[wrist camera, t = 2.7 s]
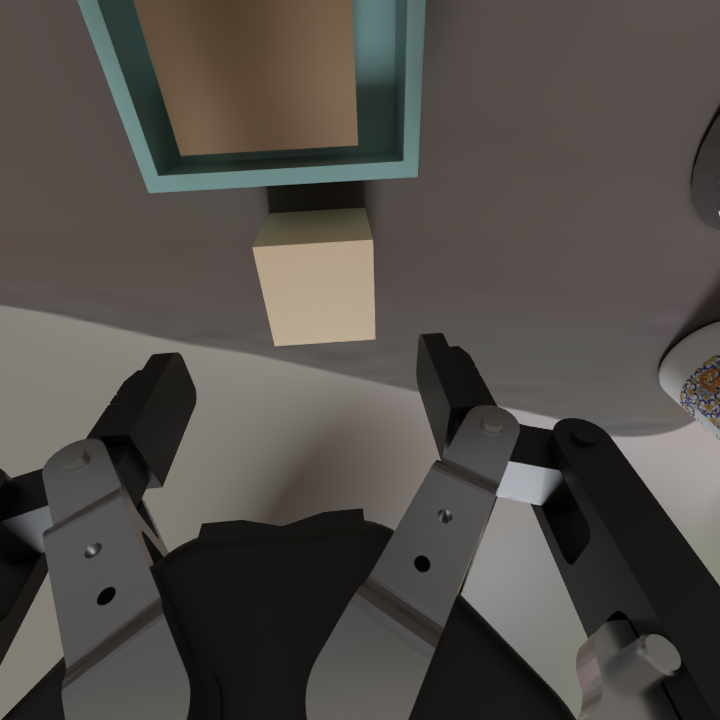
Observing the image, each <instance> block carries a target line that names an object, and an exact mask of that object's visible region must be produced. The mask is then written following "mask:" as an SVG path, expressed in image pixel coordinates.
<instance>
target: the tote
mask: <svg viewBox="0 0 720 720" xmlns="http://www.w3.org/2000/svg"><path fill="white" fill-rule="evenodd" d="M78 3H79V6H80V9H81V11H82V14H83V17H84V19H85V22H86V25H87V27H88V30H89V33H90V36H91V38H92V41H93V44H94V46H95V49H96V52H97V54H98V57H99V60H100V63H101V65H102V68H103V71H104V73H105V76H106V79H107V81H108V84H109V87H110V90H111V92H112V95H113V98H114V100H115V103H116V106H117V108H118V111H119V114H120V117H121V119H122V122H123V125H124V127H125V130H126V133H127V135H128V138H129V141H130V143H131V146H132V149H133V152H134V154H135V157H136V160H137V162H138V165H139V168H140V170H141V173H142V176H143V179H144V181H145V184H146V187H147V189H148V192H149V193H160V192H176V191H192V190H209V189H225V188H242V187H258V186H275V185H291V184H307V183H324V182H340V181H357V180H373V179H390V178H406V177H418V155H419V134H420V113H421V92H422V71H423V50H424V29H425V8H426V0H352V8H353V32H354V57H355V81H356V106H357V130H358V145H356V146H339V147H322V148H305V149H288V150H271V151H254V152H237V153H220V154H203V155H186V156H181V155H180V152H179V148H178V145H177V142H176V138H175V135H174V132H173V128H172V125H171V122H170V119H169V115H168V112H167V109H166V105H165V102H164V99H163V95H162V92H161V89H160V86H159V82H158V79H157V76H156V72H155V69H154V66H153V63H152V59H151V56H150V53H149V49H148V46H147V43H146V39H145V36H144V33H143V30H142V26H141V23H140V20H139V16H138V13H137V10H136V6H135V3H134V0H78Z"/></svg>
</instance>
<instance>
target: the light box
mask: <svg viewBox="0 0 720 720" xmlns="http://www.w3.org/2000/svg"><path fill="white" fill-rule="evenodd" d="M252 248H253V252H254V257H255V261H256V265H257V270H258V274H259V279H260V283H261V287H262V292H263V296H264V300H265V305H266V309H267V314H268V318H269V322H270V327H271V331H272V336H273V340H274V344H275V346H284V345H299V344H313V343H328V342H342V341H357V340H371V339H375V306H374V260H373V237H372V233H371V230H370V226H369V222H368V218H367V214H366V210H365V208H349V209H332V210H316V211H300V212H284V213H269V215H268V217H267V219H266V221H265V223H264V225H263V227H262V229H261V231H260V233H259V235H258V237H257V239H256V241H255V243H254V245H253V247H252Z"/></svg>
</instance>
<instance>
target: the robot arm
mask: <svg viewBox="0 0 720 720" xmlns="http://www.w3.org/2000/svg"><path fill="white" fill-rule="evenodd" d="M691 189H692V200H693V204H694V207H695V209H696V211H697V214H698V216H699V217H700V218H701V219H702V220H703V221H704V222H705V223H706V224H708V225H710V226H712V227H714V228H716V229H719V230H720V115H719V116H718V117H717V119H716V120H715V122H714V123H713V125H712V127H711V129H710V131H709V133H708V135H707V137H706V139H705V141H704V142H703V144H702V146H701V149H700V152H699V155H698V158H697V161H696V164H695V167H694V172H693V179H692V185H691ZM416 376H417V384H418V388H419V391H420V395H421V398H422V401H423V404H424V407H425V411H426V414H427V417H428V420H429V423H430V426H431V430H432V433H433V436H434V439H435V443H436V446H437V449H438V452H439V455H440V459H441V461H439V460H436V461H435V462H434V464H433V465H432V467H431V469H430V471H429V472H428V474H427V476H426V477H425V479H424V481H423V483H422V484H421V486H420V488H419V490H418V491H417V493H416V495H415V497H414V498H413V500H412V502H411V504H410V505H409V507H408V509H407V511H406V512H405V514H404V516H403V518H402V520H401V521H400V523H399V525H398V526H397V528H396V530H395V531H394V530H392V529H390V528H388V527H386V526H384V525H382V524H378V523H375V522H371V521H366V520H364V516H363V509H351V510H341V511H331V512H323V513H320V514H317V515H314V516H311V517H308V518H305V519H303V520H300V521H297V522H294V523H291V524H288V525H285V526H276V525H270V524H264V523H258V522H251V521H245V520H236V521H226V522H215V523H205V524H202V526H201V529H200V533H199V537H198V538H196V539H193V540H191V541H189V542H187V543H184V544H183V545H181V546H179V547H177V548H176V549H174V550H173V551H171V552H170V553H169V552H168V550H167V548H166V546H165V544H164V542H163V540H162V537H161V535H160V533H159V531H158V529H157V527H156V524H155V522H154V520H153V518H152V515H151V514H150V511H149V509H148V507H147V505H146V502H145V501H144V499H143V498H142V497H143V494H144V492H145V490H146V489H149V488H158V487H159V488H160V487H163V484H164V482H165V480H166V477H167V475H168V472H169V470H170V467H171V465H172V462H173V460H174V457H175V454H176V452H177V450H178V447H179V445H180V442H181V440H182V437H183V435H184V432H185V429H186V427H187V425H188V422H189V420H190V417H191V414H192V412H193V410H194V407H195V404H196V389H195V386H194V384H193V381H192V379H191V377H190V374H189V372H188V369H187V367H186V365H185V363H184V360H183V358H182V356H181V354H179V353H163V354H153V355H152V356H151V357H150V359H149V360H148V362H147V363H146V365H145V366H144V368H143V370H138V371H137V372H135V373H134V374H133V375H132V376H130V377H129V378H128V379H127V380H126V381H124V383H123V384H122V386H121V387H120V389H119V390H118V392H117V395H115V396H114V398H113V399H112V401H111V402H110V405H108V407H107V408H106V409H105V411H104V412H103V414H102V416H101V417H100V418H99V420H98V422H97V423H96V424H95V426H94V427H93V429H92V430H91V432H90V433H89V435H88V436H87V438H86V439H84V440H80V441H76V442H74V443H71V444H69V445H67V446H66V447H64V448H62V449H61V450H59V451H58V452H56V453H55V454H54V455H53V456H52V457H51V458H50V459H49V460H48V461H47V463H46V464H45V466H44V468H43V469H40V470H36V471H33V472H30V473H27V474H24V475H21V476H17V477H14V478H10V477H9V476H8V475H7V474H6V473H5V472H4V471H3V470H2V469H0V665H1V663H2V661H3V659H4V657H5V655H6V653H7V651H8V649H9V647H10V645H11V643H12V641H13V639H14V637H15V635H16V634H17V632H18V630H19V628H20V626H21V624H22V622H23V620H24V618H25V616H26V614H27V612H28V610H29V608H30V606H31V604H32V602H33V600H34V598H35V596H36V594H37V592H38V590H39V588H40V586H41V585H42V583H43V581H44V579H45V577H46V575H47V573H48V571H49V576H50V581H51V587H52V592H53V597H54V603H55V608H56V614H57V619H58V625H59V631H60V636H61V641H62V647H63V652H64V657H63V658H62V659H61V660H60V661H59V662H58V663H57V664H56V665H55V666H54V667H53V668H52V669H51V670H50V671H49V672H48V673H47V674H46V675H45V676H44V677H43V678H42V679H41V680H40V681H39V682H38V683H37V684H36V685H35V686H34V687H33V689H31V690H30V691H29V692H28V693H27V694H26V696H24V697H23V698H22V699H21V700H20V701H19V702H18V703H17V704H16V705H15V706H14V707H13V708H12V709H11V711H9V712H8V714H6V716H5V717H4V718H3V719H2V720H576V719H575V717H574V715H573V714H572V712H571V711H570V710H569V708H568V707H567V706H566V704H565V703H564V702H563V700H562V699H561V698H560V697H559V696H558V694H557V693H556V692H555V691H554V690H553V689H552V688H551V687H550V686H549V685H548V684H547V683H546V682H545V681H544V680H543V679H542V678H541V677H540V676H539V674H537V673H536V671H535V670H534V669H533V668H532V667H531V666H530V665H529V664H528V663H527V662H526V661H525V660H524V659H523V658H522V657H521V656H520V655H519V654H518V653H517V652H516V651H515V650H514V649H513V648H512V647H511V646H510V645H509V644H508V643H507V642H506V641H505V640H504V639H503V638H502V637H501V636H500V634H499V633H498V632H497V631H496V630H495V629H494V628H493V627H492V626H491V625H490V624H489V623H488V622H487V621H486V620H485V619H484V618H483V617H482V616H481V615H480V614H479V613H478V612H477V611H476V610H475V609H474V608H473V607H472V606H471V605H470V604H469V603H468V602H467V601H466V600H465V599H464V598H463V597H462V596H461V594H462V592H463V589H464V586H465V584H466V581H467V578H468V575H469V573H470V570H471V568H472V565H473V562H474V559H475V556H476V553H477V551H478V548H479V545H480V542H481V540H482V537H483V534H484V532H485V529H486V526H487V524H488V521H489V518H490V516H491V513H492V510H493V508H494V505H495V502H496V500H497V497H503V498H508V499H513V500H517V501H522V502H527V503H531V506H532V508H533V510H534V513H535V515H536V517H537V520H538V522H539V524H540V527H541V529H542V531H543V534H544V536H545V538H546V541H547V543H548V545H549V548H550V550H551V553H552V555H553V557H554V559H555V562H556V564H557V567H558V569H559V571H560V574H561V576H562V578H563V581H564V583H565V585H566V587H567V590H568V592H569V595H570V597H571V599H572V602H573V604H574V607H575V609H576V611H577V614H578V616H579V618H580V620H581V623H582V625H583V628H584V630H585V632H586V635H587V637H588V639H587V640H586V641H585V643H583V644H582V646H581V647H580V648H579V651H578V653H577V657H576V669H577V675H578V679H579V683H580V687H581V692H582V708H581V712H580V715H579V717H578V719H577V720H720V586H719V584H718V583H717V582H716V581H715V579H714V578H713V576H712V575H711V574H710V572H709V571H708V570H707V568H706V567H705V565H704V564H703V563H702V561H701V560H700V559H699V557H698V556H697V555H696V553H695V552H694V551H693V549H692V548H691V546H690V545H689V544H688V542H687V541H686V539H685V538H684V537H683V535H682V534H681V533H680V531H679V530H678V529H677V527H676V526H675V525H674V523H673V522H672V520H671V519H670V518H669V516H668V515H667V514H666V512H665V511H664V509H663V508H662V507H661V505H660V504H659V503H658V501H657V500H656V499H655V497H654V496H653V494H652V493H651V492H650V490H649V489H648V488H647V487H646V485H645V483H644V482H643V481H642V479H641V478H640V477H639V475H638V474H637V473H636V471H635V470H634V468H633V467H632V466H631V464H630V463H629V462H628V460H627V459H626V458H625V456H624V455H623V454H622V452H621V451H620V449H619V448H618V447H617V445H616V444H615V443H614V441H613V440H612V438H611V437H610V436H609V435H608V434H607V433H606V432H605V431H604V430H603V429H602V428H600V427H599V426H597V425H595V424H593V423H591V422H588V421H585V420H582V419H576V418H568V419H563V420H560V421H559V422H557V423H556V425H555V426H554V428H553V430H549V429H543V428H537V427H530V426H526V425H522V424H519V423H518V421H517V419H516V418H515V417H514V416H513V415H512V414H511V413H509V412H508V411H506V410H505V409H502V408H500V407H497V405H496V403H495V401H494V399H493V397H492V396H491V394H490V392H489V390H488V388H487V386H486V384H485V383H484V381H483V379H482V377H481V376H480V373H479V371H478V370H477V368H476V367H475V364H474V362H473V360H472V358H471V357H470V355H469V354H468V353H467V352H465V351H464V350H463V349H462V348H460V347H459V346H453V347H449V345H448V343H447V341H446V339H445V337H444V335H443V333H432V334H420V336H419V341H418V355H417V369H416Z"/></svg>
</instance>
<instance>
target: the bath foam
mask: <svg viewBox="0 0 720 720" xmlns="http://www.w3.org/2000/svg"><path fill="white" fill-rule="evenodd" d="M659 382H660V385H661V387H662V388H663V389H664V390H665V391H666V392H667V393H668V394H669V395H670V396H671V397H672V398H673V399H674V400H675V401H676V402H677V403H678V404H679V405H681V406H682V407H683V409H684V410H686V411H687V412H688V413H689V414H690V415H691V416H692V417H693V418H694V419H695V420H696V421H697V422H698V423H700V424H701V425H702V426H703V427H704V428H705V429H706V430H707V431H708V432H709V433H710V434H711V435H712V436H714V437H715V438H716V439H717V440H718V441H719V442H720V321H719V322H715V323H712V324H710V325H707V326H705V327H703V328H701V329H699V330H697V331H695V332H693V333H691V334H690V335H688V336H687V337H685V338H684V339H683V340H681V341H680V342H679V343H678V344H677V345H676V346H675V347H673V348H672V350H671V351H670V352H669V353H668V354H667V355H666V357H665V358H664V360H663V362H662V364H661V366H660V369H659Z"/></svg>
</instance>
